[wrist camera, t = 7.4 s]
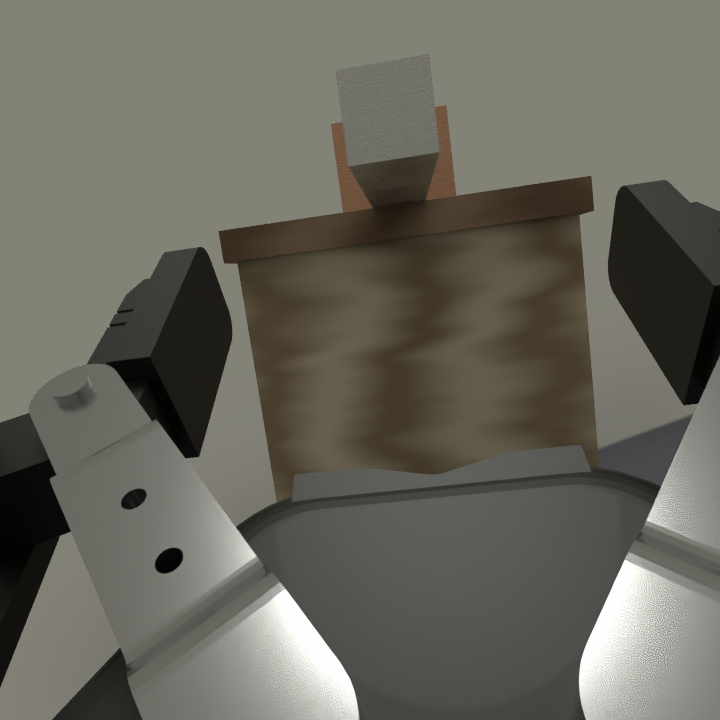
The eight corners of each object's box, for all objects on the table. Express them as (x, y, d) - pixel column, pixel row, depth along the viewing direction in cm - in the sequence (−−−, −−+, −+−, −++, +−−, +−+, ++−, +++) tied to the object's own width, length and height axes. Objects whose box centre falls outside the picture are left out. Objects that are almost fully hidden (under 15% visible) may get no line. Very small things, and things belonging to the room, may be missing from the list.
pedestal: (563, 630, 45) (524, 208, 41) (638, 807, 31) (591, 175, 26) (345, 646, 47) (284, 243, 42) (318, 821, 32) (218, 231, 27)
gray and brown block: (448, 214, 37) (439, 131, 36) (510, 141, 15) (490, -71, 14) (354, 228, 37) (343, 147, 37) (281, 177, 16) (251, -26, 15)
